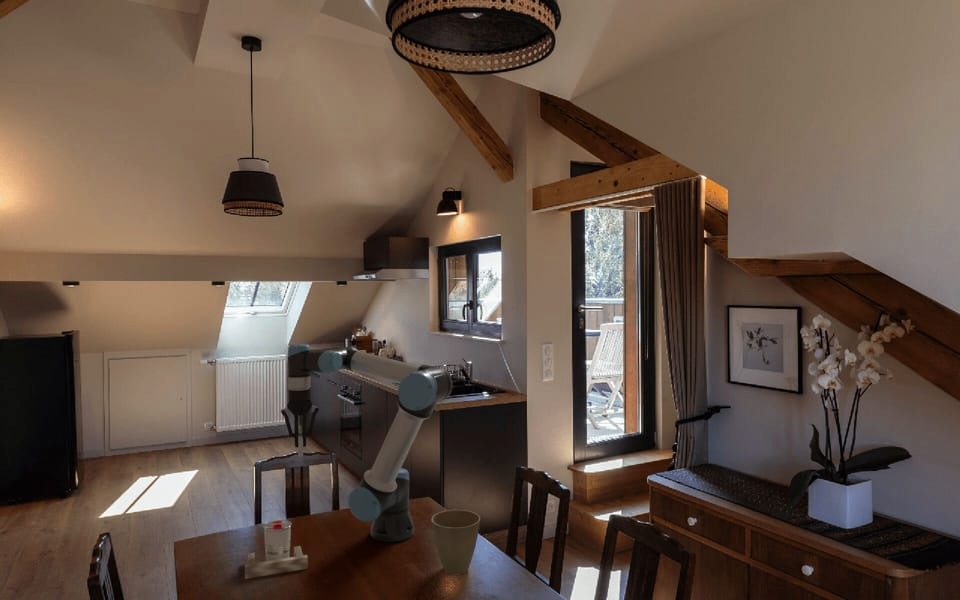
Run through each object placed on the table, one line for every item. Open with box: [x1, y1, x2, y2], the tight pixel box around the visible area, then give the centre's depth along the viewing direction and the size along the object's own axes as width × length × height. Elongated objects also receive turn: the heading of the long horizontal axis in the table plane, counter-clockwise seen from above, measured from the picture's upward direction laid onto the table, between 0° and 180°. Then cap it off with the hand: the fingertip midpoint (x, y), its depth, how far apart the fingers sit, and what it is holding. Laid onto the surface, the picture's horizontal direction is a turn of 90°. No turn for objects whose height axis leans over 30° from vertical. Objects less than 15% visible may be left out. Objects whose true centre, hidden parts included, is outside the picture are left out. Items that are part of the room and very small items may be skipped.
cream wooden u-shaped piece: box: [244, 545, 309, 580], centre depth 192 cm, size 18×11×4 cm, turn 112°
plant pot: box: [431, 509, 481, 575], centre depth 189 cm, size 15×15×16 cm
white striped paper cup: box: [262, 519, 294, 561], centre depth 194 cm, size 10×8×12 cm
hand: (300, 456), depth 215 cm, fingers closed
